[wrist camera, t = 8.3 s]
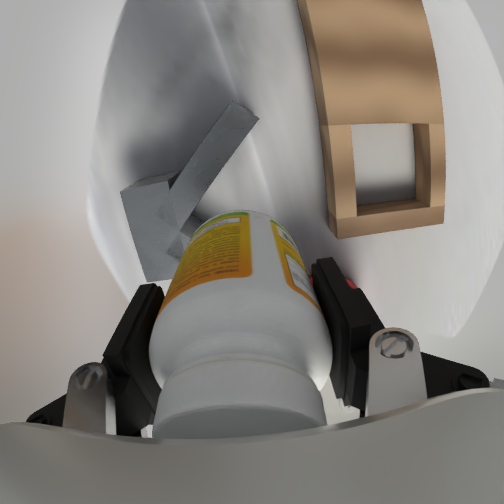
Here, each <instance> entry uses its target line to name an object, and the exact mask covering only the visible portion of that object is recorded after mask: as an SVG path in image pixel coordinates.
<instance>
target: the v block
mask: <svg viewBox="0 0 504 504" xmlns="http://www.w3.org/2000/svg"><path fill="white" fill-rule="evenodd" d="M258 120H259V118H258V117H257V116H255V115H254V114H252V113H251V112H249V111H248V110H247V109H245V108H244V107H242V106H241V105H239V104H238V103H236V102H235V101H233V100H232V102H231V103H230V104H229V106H228V107H227V108H226V110H225V111H224V112H223V114H222V115H221V116H220V118H219V119H218V120H217V122H216V123H215V124H214V126H213V127H212V129H211V130H210V131H209V133H208V134H207V136H206V137H205V138H204V140H203V141H202V143H201V144H200V146H199V147H198V148H197V150H196V151H195V153H194V154H193V156H192V157H191V159H190V160H189V162H188V163H187V165H186V166H185V168H184V169H183V171H182V172H181V173H180V171H178V172H173V173H168V174H164V175H159V176H155V177H151V178H146V179H142V180H139V181H137V182H135V183H134V184H132V185H130V186H129V187H127V188H125V189H124V190H122V191H121V192H120V194H121V198H122V201H123V205H124V209H125V213H126V216H127V220H128V223H129V227H130V230H131V234H132V237H133V240H134V243H135V247H136V250H137V253H138V256H139V259H140V262H141V265H142V269H143V271H144V274H145V277H146V280H147V282H153V281H161V280H168V279H173V277H174V274H175V272H176V270H177V268H178V265H179V263H180V261H181V258H182V256H183V254H184V251H185V249H186V247H187V245H188V242H189V241H190V239H191V237H192V236H193V234H194V233H195V231H196V230H197V229H198V228H199V227H200V226H201V225H202V224H203V222H201V221H200V220H198V219H197V218H195V217H194V216H192V215H191V213H192V211H193V210H194V208H195V207H196V205H197V204H198V202H199V201H200V199H201V198H202V196H203V195H204V193H205V192H206V191H207V189H208V188H209V186H210V185H211V183H212V182H213V181H214V179H215V178H216V176H217V175H218V173H219V172H220V171H221V169H222V168H223V167H224V165H225V164H226V162H227V161H228V160H229V158H230V157H231V156H232V154H233V153H234V151H235V150H236V149H237V147H238V146H239V145H240V143H241V142H242V141H243V139H244V138H245V137H246V135H247V134H248V133H249V131H250V130H251V129H252V128H253V126H254V125H255V124H256V122H257V121H258Z"/></svg>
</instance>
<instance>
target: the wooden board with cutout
mask: <svg viewBox="0 0 504 504" xmlns="http://www.w3.org/2000/svg"><path fill="white" fill-rule="evenodd" d="M297 2H298V7H299V11H300V15H301V20H302V25H303V29H304V34H305V39H306V44H307V50H308V55H309V60H310V66H311V72H312V78H313V84H314V90H315V97H316V104H317V111H318V118H319V125H320V133H321V142H322V150H323V160H324V170H325V180H326V192H327V205H328V219H329V228H330V230H331V231H332V232H333V234H334V235H335V236H336V238H337V239H343V238H349V237H356V236H363V235H369V234H376V233H383V232H389V231H396V230H403V229H409V228H416V227H423V226H429V225H436V224H443V222H444V207H445V180H446V160H445V132H444V118H443V107H442V98H441V90H440V82H439V75H438V69H437V63H436V58H435V53H434V48H433V43H432V38H431V34H430V30H429V26H428V22H427V18H426V14H425V11H424V7H423V4H422V1H421V0H297ZM373 123H413V129H414V144H415V169H416V199H411V200H402V201H393V202H384V203H376V204H367V205H359V206H356V188H355V172H354V159H353V147H352V137H351V128H350V124H373Z"/></svg>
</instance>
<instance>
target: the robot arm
mask: <svg viewBox="0 0 504 504" xmlns="http://www.w3.org/2000/svg"><path fill="white" fill-rule="evenodd" d="M312 281H313V290H314V292H315V295H316V297H317V300H318V302H319V305H320V307H321V310H322V312H323V315H324V318H325V320H326V323H327V326H328V329H329V333H330V337H331V341H332V346H333V359H332V366H331V370H330V374H329V376H330V379H331V383H332V386H333V389H334V393H335V396H336V399H340V398H342V400H343V404H344V407H345V406H350V405H351V406H353V407H355V408H357V409H359V415H358V419H354V420H350V421H346V422H341V423H337V424H332V425H327V426H322V427H316V428H311V429H305V430H298V431H292V432H284V433H276V434H268V435H258V436H247V437H234V438H213V439H165V438H147V431H146V428H145V427H146V426H147V425H148V424H151V425H153V424H154V419H155V414H156V409H157V404H158V399H159V395H160V393H161V391H162V389H161V388H160V386H159V384H158V383H157V381H156V378H155V376H154V374H153V372H152V368H151V365H150V360H149V343H150V338H151V334H152V331H153V327H154V324H155V321H156V318H157V316H158V313H159V310H160V308H161V305H162V303H163V301H164V299H165V296H164V293H163V290H162V288H161V287H160V286H157V285H156V284H155V283H151V284H144V285H140V286H139V288H138V290H137V291H136V293H135V295H134V297H133V299H132V300H131V302H130V304H129V306H128V308H127V309H126V311H125V313H124V315H123V317H122V319H121V321H120V322H119V324H118V326H117V328H116V330H115V332H114V334H113V336H112V338H111V340H110V342H109V344H108V345H107V347H106V350H105V352H104V354H103V357H104V358H103V360H102V362H101V363H98V362H91V363H87V364H84V365H82V366H80V367H79V368H77V369H76V370H75V371H74V372H73V374H72V375H71V377H70V380H69V384H68V389H67V394H65V395H63V396H62V397H60V398H58V399H57V400H55V401H53V402H51V403H50V404H48V405H46V406H45V407H43V408H41V409H39V410H38V411H36V412H34V413H33V414H32V415H30V417H29V418H28V419H27V421H26V422H11V423H6V424H0V504H504V380H500V379H496V378H494V379H493V381H492V382H491V381H489V380H488V378H487V377H486V375H485V374H484V373H483V372H481V371H480V370H478V369H476V368H474V367H470V366H467V365H463V364H460V363H456V362H453V361H450V360H446V359H443V358H439V357H436V356H433V355H430V354H427V353H423V352H420V348H419V343H418V340H417V338H416V337H415V336H414V335H413V334H412V333H411V332H409V331H407V330H405V329H401V328H393V327H392V328H385V327H384V325H383V324H382V322H381V320H380V319H379V317H378V315H377V314H376V312H375V310H374V309H373V307H372V306H371V304H370V302H369V301H368V299H367V298H366V296H365V294H364V293H363V291H362V290H361V289H360V288H354V289H351V287H350V286H349V284H348V282H347V281H346V279H345V277H344V276H343V274H342V272H341V271H340V269H339V267H338V266H337V264H336V262H335V261H334V259H333V258H332V257H329V258H323V259H317V262H316V264H312Z"/></svg>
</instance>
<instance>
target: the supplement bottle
mask: <svg viewBox="0 0 504 504" xmlns="http://www.w3.org/2000/svg"><path fill="white" fill-rule="evenodd" d="M332 359H333V346H332V341H331V337H330V333H329V329H328V326H327V323H326V320H325V318H324V315H323V312H322V310H321V307H320V305H319V302H318V300H317V297H316V295H315V292H314V290H313V287H312V284H311V281H310V278H309V276H308V274H307V272H306V269H305V266H304V264H303V261H302V259H301V256H300V254H299V251H298V249H297V247H296V244H295V242H294V241H293V239H292V237H291V236H290V234H289V233H288V231H287V230H286V229H285V228H284V227H283V226H282V225H281V224H280V223H278V222H277V221H276V220H274V219H273V218H271V217H269V216H267V215H265V214H262V213H259V212H255V211H249V210H235V211H229V212H225V213H221V214H219V215H216V216H214V217H212V218H210V219H209V220H207V221H206V222H205V223H203V224H202V225H201V226H200V227H199V228H198V229H197V230H196V231H195V233H194V234H193V236H192V237H191V239H190V241H189V242H188V245H187V247H186V249H185V251H184V254H183V256H182V258H181V261H180V263H179V265H178V268H177V270H176V272H175V274H174V277H173V280H172V282H171V284H170V287H169V289H168V291H167V294H166V296H165V299H164V301H163V303H162V305H161V308H160V310H159V313H158V316H157V318H156V321H155V324H154V327H153V331H152V334H151V338H150V343H149V360H150V365H151V368H152V372H153V374H154V376H155V378H156V381H157V383H158V384H159V386H160V388H161V389H162V391H161V393H160V395H159V399H158V404H157V409H156V414H155V419H154V424H153V431H152V437H153V438H165V439H213V438H234V437H247V436H258V435H268V434H276V433H284V432H292V431H298V430H305V429H311V428H316V427H322V426H327V420H326V415H325V411H324V404H323V398H322V396H321V393H320V391H321V389H322V388H323V386H324V385H325V383H326V381H327V379H328V376H329V374H330V370H331V366H332Z"/></svg>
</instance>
